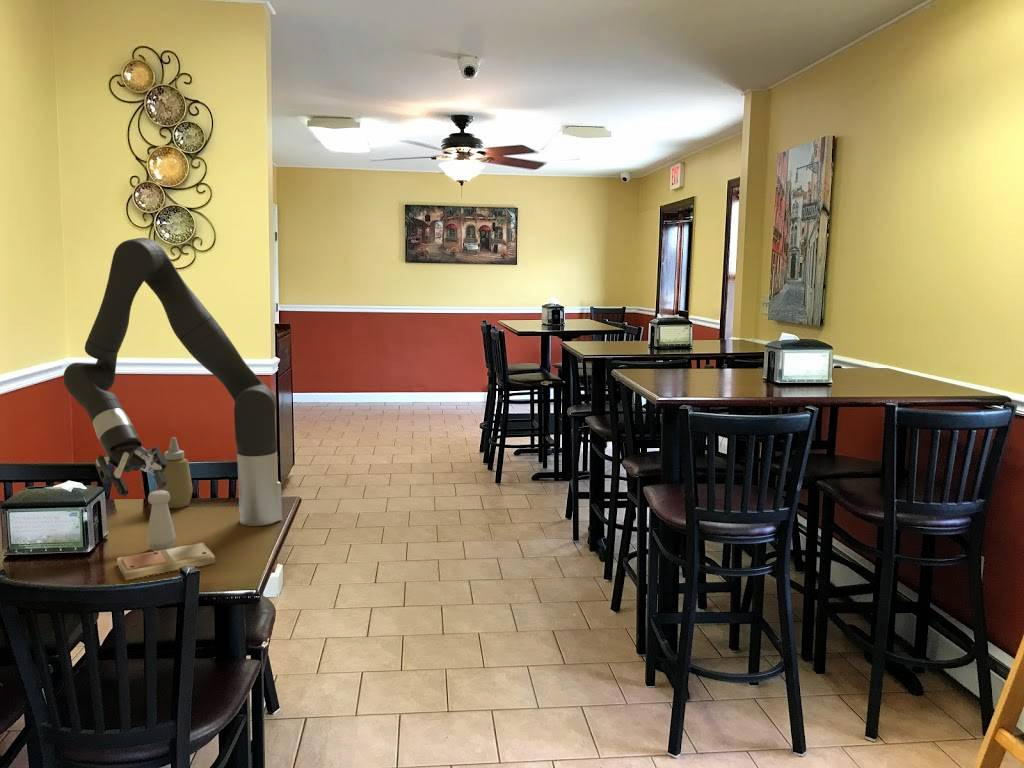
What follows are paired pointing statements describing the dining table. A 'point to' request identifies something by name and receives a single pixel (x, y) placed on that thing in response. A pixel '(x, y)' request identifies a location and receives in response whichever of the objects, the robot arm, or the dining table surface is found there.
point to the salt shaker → (160, 522)
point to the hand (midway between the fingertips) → (145, 490)
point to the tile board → (165, 560)
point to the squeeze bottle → (177, 477)
